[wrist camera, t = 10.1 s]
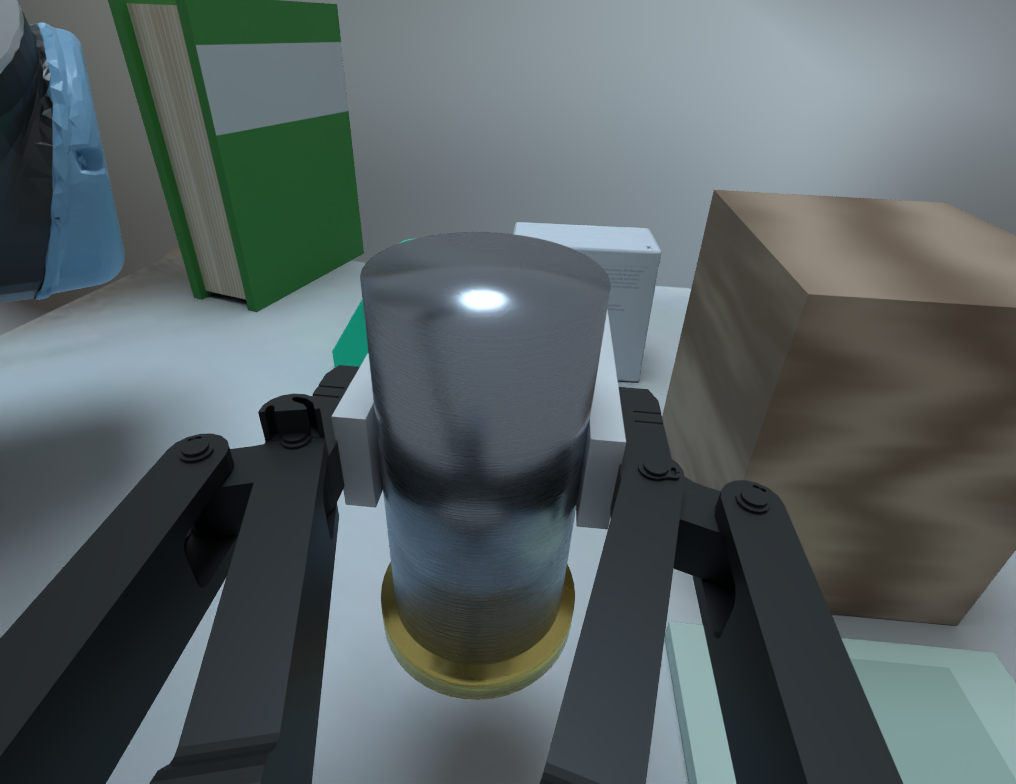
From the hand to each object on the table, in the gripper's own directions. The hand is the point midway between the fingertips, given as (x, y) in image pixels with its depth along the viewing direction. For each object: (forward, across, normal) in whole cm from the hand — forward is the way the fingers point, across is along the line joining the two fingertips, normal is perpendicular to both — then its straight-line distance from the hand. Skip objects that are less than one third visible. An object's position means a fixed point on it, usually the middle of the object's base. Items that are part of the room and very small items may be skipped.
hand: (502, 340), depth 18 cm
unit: (+9, +16, -14) cm, 23 cm away
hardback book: (+39, -26, -16) cm, 49 cm away
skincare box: (+25, +4, -15) cm, 29 cm away
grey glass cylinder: (-5, 0, -7) cm, 8 cm away
